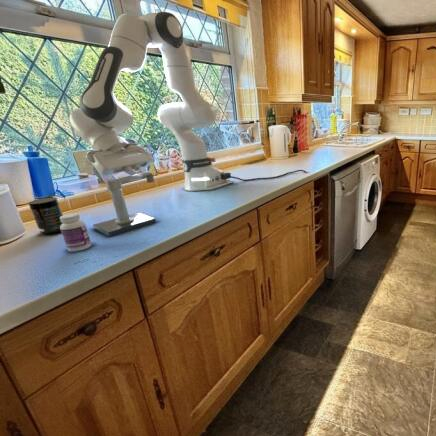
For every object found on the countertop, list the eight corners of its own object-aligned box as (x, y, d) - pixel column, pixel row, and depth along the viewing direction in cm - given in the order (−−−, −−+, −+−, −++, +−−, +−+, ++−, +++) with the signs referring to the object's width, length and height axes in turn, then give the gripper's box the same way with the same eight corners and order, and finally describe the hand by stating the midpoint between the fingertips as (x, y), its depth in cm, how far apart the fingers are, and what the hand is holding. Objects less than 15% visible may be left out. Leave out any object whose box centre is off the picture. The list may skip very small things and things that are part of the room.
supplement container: (73, 228, 100) (62, 197, 96) (51, 236, 93) (39, 204, 90) (57, 227, 101) (46, 197, 97) (35, 235, 95) (22, 203, 91)
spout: (115, 194, 94) (111, 181, 93) (105, 193, 95) (101, 181, 94) (157, 181, 109) (155, 170, 108) (148, 181, 110) (146, 170, 109)
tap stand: (139, 216, 109) (130, 183, 105) (155, 222, 102) (147, 187, 98) (94, 228, 98) (82, 192, 94) (109, 236, 92) (97, 198, 87)
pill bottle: (94, 247, 85) (83, 214, 81) (70, 253, 81) (58, 220, 78) (89, 242, 88) (79, 211, 85) (66, 248, 84) (54, 216, 81)
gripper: (85, 145, 95) (118, 177, 96) (139, 139, 114) (166, 165, 115) (79, 159, 98) (111, 190, 99) (132, 151, 116) (159, 176, 117)
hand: (141, 176), depth 107 cm, fingers closed
